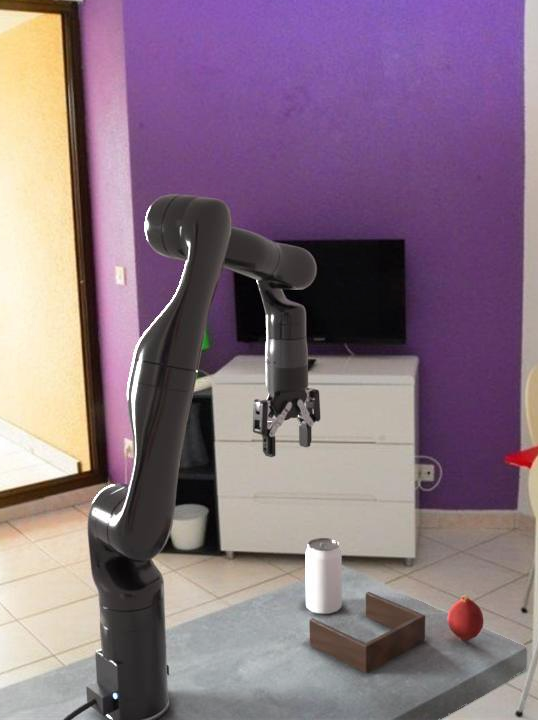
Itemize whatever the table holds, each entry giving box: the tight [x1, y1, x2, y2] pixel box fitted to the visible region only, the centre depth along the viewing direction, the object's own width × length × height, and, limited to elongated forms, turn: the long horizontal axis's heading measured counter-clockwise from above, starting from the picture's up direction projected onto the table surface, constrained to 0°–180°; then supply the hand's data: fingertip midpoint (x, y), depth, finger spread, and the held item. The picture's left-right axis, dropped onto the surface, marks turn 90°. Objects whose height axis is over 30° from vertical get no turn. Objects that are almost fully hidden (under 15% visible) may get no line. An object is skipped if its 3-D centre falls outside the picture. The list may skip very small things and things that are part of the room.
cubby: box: [309, 591, 426, 674], centre depth 150 cm, size 15×13×4 cm
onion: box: [446, 595, 485, 642], centre depth 150 cm, size 6×6×8 cm
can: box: [305, 537, 343, 615], centre depth 162 cm, size 6×6×12 cm
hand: (287, 451), depth 162 cm, fingers open, 8 cm apart
